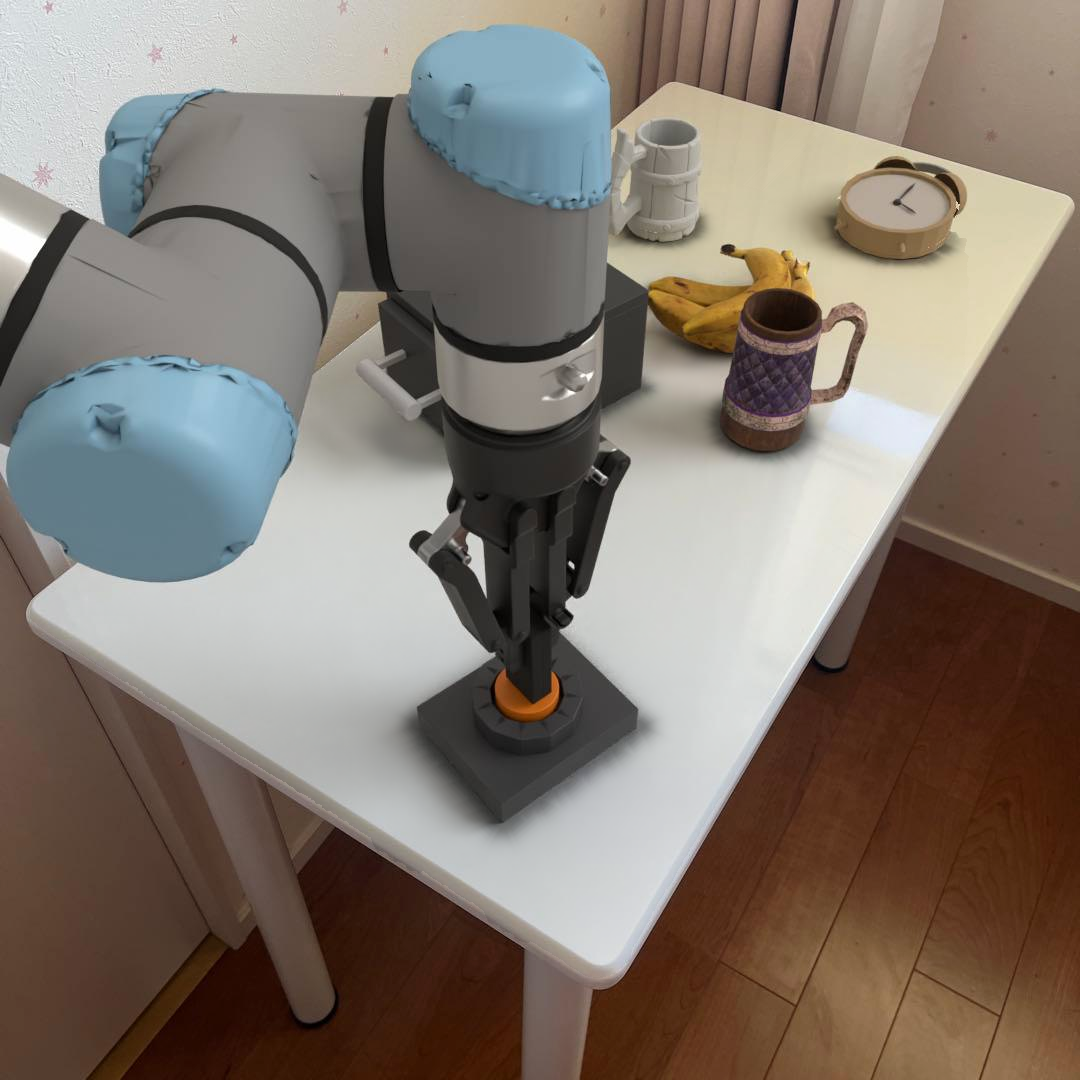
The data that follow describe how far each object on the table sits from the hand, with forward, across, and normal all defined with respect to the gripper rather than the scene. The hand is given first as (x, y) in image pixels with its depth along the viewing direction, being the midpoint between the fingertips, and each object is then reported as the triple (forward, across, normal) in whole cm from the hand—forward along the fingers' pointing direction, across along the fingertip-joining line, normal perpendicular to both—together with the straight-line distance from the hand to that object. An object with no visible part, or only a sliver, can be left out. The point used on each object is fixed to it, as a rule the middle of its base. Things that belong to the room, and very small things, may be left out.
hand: (528, 684), depth 68 cm
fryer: (+5, +21, +28) cm, 35 cm away
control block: (+5, 0, 0) cm, 5 cm away
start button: (+2, 0, 0) cm, 2 cm away
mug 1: (+5, +46, +40) cm, 61 cm away
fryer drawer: (+4, +17, +28) cm, 33 cm away
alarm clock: (+5, +67, +24) cm, 72 cm away
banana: (+5, +42, +24) cm, 49 cm away
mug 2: (+5, +34, +10) cm, 36 cm away
